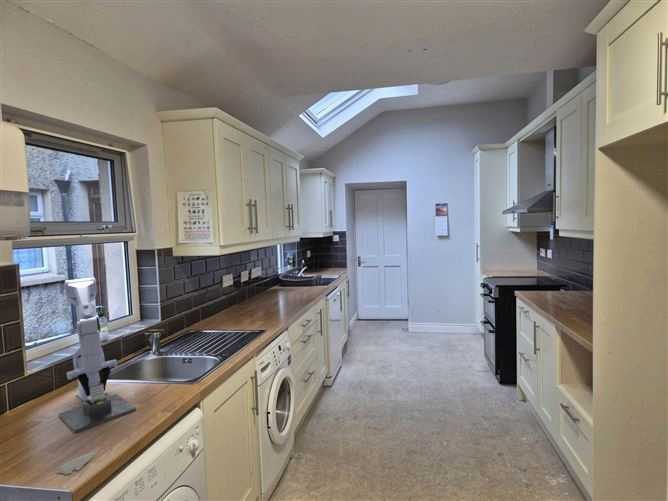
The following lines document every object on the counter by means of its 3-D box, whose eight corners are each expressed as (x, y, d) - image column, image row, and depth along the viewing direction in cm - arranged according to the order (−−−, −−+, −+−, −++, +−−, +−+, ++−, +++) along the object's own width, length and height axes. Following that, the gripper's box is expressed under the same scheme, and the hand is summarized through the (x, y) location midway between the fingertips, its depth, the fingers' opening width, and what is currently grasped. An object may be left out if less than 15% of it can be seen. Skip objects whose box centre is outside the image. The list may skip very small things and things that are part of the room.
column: (87, 405, 133) (85, 384, 132) (101, 401, 136) (99, 380, 135) (91, 409, 130) (89, 387, 129) (105, 404, 133) (103, 383, 132)
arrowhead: (50, 466, 101) (84, 448, 110) (50, 474, 101) (84, 455, 110) (71, 470, 99) (104, 451, 109) (71, 477, 99) (104, 458, 109)
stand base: (58, 416, 132) (57, 402, 132) (116, 396, 146) (115, 383, 145) (74, 433, 120) (73, 417, 120) (136, 410, 134) (134, 396, 133)
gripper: (69, 362, 123) (74, 404, 124) (119, 349, 134) (122, 388, 135) (63, 358, 128) (67, 398, 129) (111, 346, 139) (115, 383, 140)
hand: (95, 392), depth 132 cm, fingers closed on column, 4 cm apart
